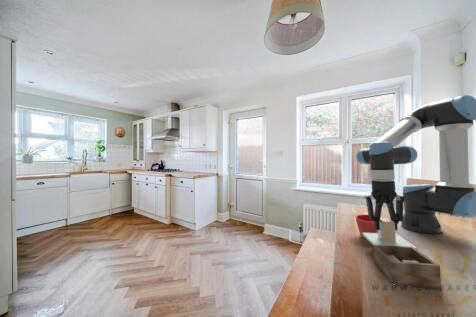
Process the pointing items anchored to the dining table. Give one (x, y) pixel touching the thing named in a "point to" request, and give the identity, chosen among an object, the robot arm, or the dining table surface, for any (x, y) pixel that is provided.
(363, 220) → the flower pot
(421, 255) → the crate
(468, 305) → the dining table surface
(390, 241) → the lid
